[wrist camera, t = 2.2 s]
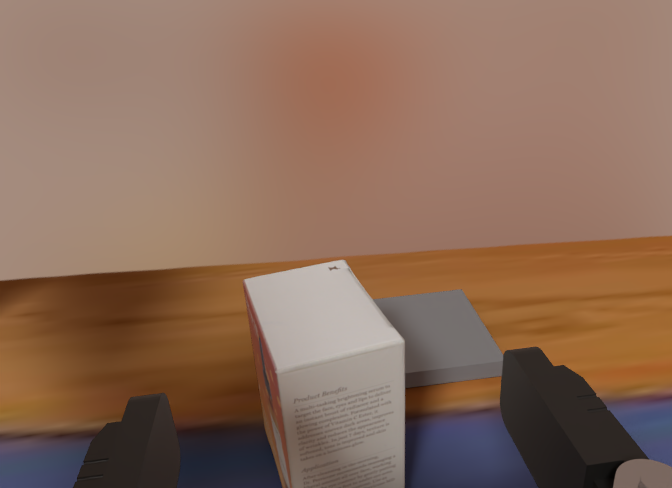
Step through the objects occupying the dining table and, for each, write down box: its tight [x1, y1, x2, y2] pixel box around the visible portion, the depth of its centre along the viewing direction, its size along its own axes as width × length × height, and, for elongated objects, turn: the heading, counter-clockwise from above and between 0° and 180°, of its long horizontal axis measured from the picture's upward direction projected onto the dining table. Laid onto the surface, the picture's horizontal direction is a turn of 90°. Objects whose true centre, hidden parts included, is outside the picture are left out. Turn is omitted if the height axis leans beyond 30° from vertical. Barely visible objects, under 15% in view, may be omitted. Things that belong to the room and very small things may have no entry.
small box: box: [243, 260, 405, 488], centre depth 27 cm, size 8×6×10 cm
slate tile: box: [373, 289, 503, 388], centre depth 39 cm, size 14×9×1 cm, turn 97°
